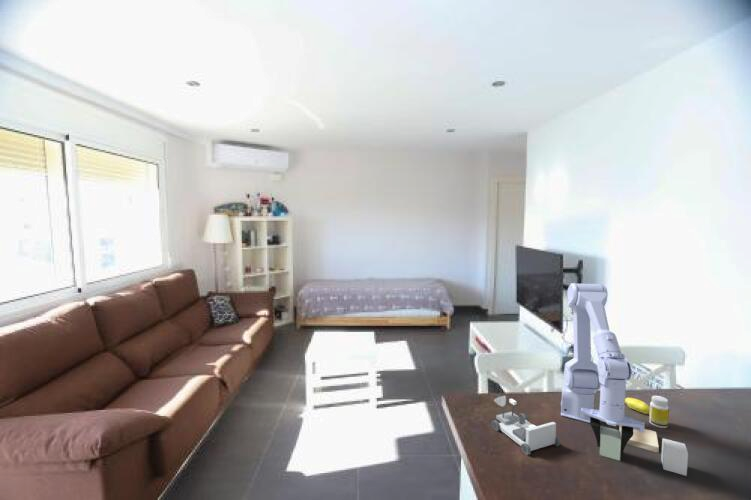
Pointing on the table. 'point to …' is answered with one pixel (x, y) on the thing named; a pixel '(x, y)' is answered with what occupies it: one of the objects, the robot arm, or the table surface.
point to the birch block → (644, 440)
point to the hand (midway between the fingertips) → (609, 448)
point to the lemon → (637, 405)
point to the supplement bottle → (659, 412)
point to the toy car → (524, 429)
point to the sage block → (610, 443)
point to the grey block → (674, 456)
